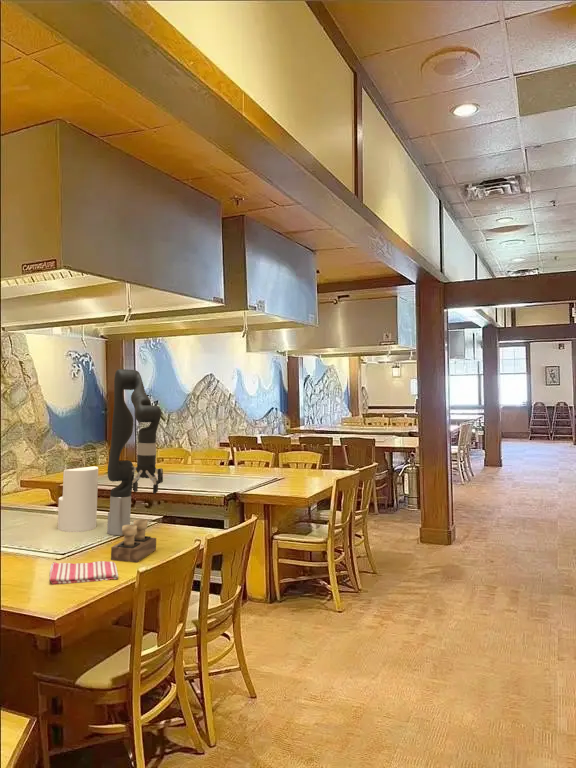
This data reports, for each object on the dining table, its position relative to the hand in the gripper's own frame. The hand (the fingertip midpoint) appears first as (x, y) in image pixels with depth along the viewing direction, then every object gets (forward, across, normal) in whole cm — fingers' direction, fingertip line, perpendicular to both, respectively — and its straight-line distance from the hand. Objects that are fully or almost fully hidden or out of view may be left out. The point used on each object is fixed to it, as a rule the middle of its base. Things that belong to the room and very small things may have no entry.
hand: (145, 492), depth 249 cm
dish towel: (+25, -7, -34) cm, 43 cm away
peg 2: (+20, -1, -1) cm, 20 cm away
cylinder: (+24, -46, +26) cm, 58 cm away
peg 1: (+20, -1, -11) cm, 23 cm away
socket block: (+24, -1, -6) cm, 25 cm away
